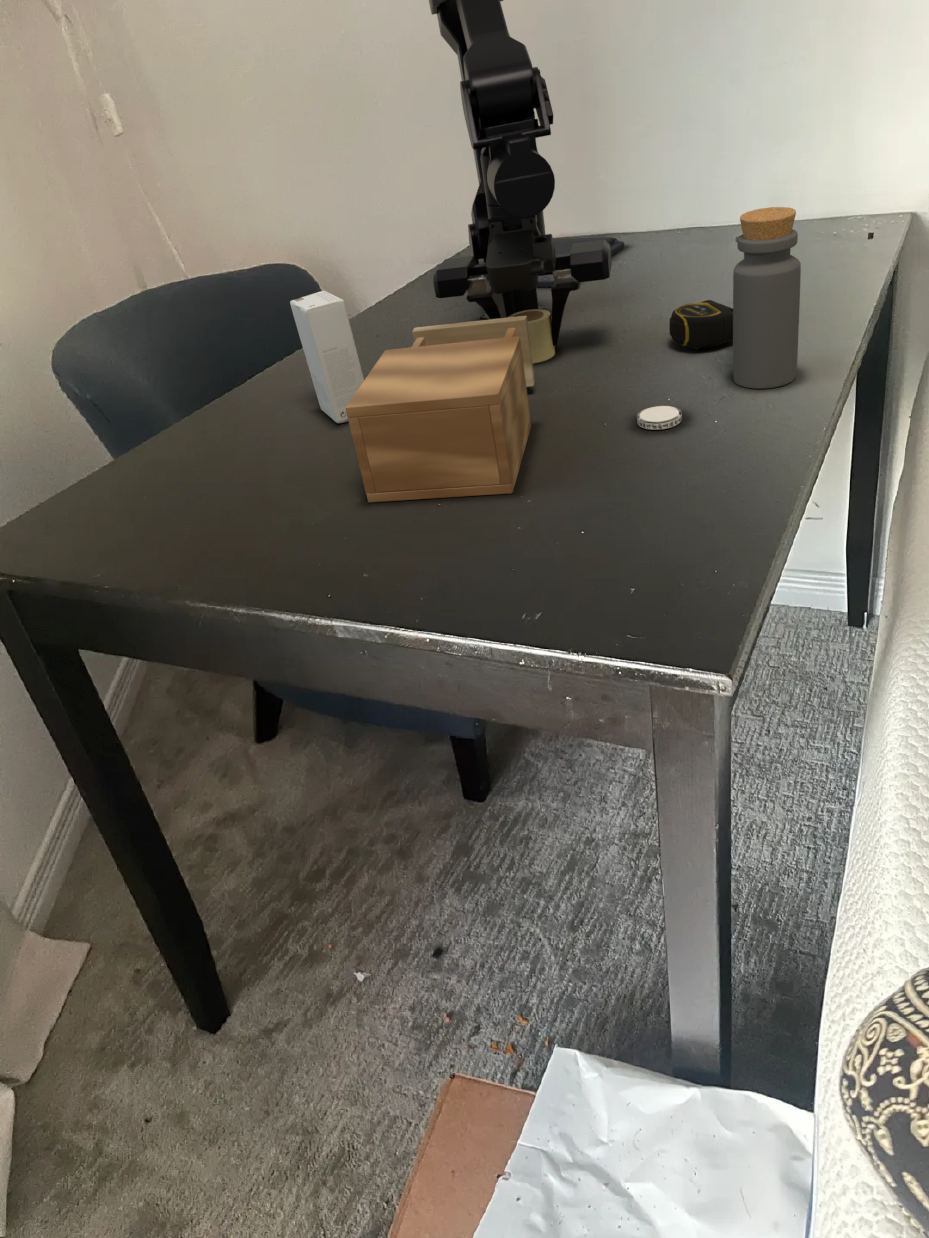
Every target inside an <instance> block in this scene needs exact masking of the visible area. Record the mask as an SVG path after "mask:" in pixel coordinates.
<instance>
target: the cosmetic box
mask: <svg viewBox="0 0 929 1238" xmlns="http://www.w3.org/2000/svg"><path fill="white" fill-rule="evenodd" d="M289 304H290V307H291V312H292V315H293V319H294V322H295V326H296V329H297V333H298V335H299V339H300V343H301V345H302V350H303V353H304V356H305V360H306V364H307V367H308V370H309V374H310V377H311V380H312V384H313V387H314V390H315V393H316V394H315V395H316V397H317V401H318V404H319V405H318V406H319V408H320V411H322V412H323V413H325V415H327V416H328V417H329V418H331V419H332V420H333V421H334V422H335V423H336V424H343V423H347V422H348V417H347V413H346V409H345V407H346V406H347V404H348V403H349V402H350V400H351V399H352V397H353V396H354V394H355V393H356V392H357V390H358V389H359V387H360V386H361V384H362V383H363V382H364V380H365V378H364V374H363V370H362V366H361V362H360V358H359V354H358V350H357V346H356V341H355V339H354V336H353V335H354V334H353V330H352V327H351V323H350V319H349V317H348V312H347V307H346V302H345V300H344V299H342V298H340V297H338V296H336V295H334V294H332V293H330V292H329V291H327V290H321V291H318V292H314V293H311V294H308V295H305V296H301V297H298V298H295V299H292V300H290V301H289ZM348 423H349V422H348Z"/></svg>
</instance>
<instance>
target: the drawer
mask: <svg viewBox="0 0 929 1238" xmlns="http://www.w3.org/2000/svg"><path fill="white" fill-rule="evenodd" d="M411 333H412V338H413V344H412V345H411V347H420V346H430V345H439V344H449V343H459V342H469V341H478V340H488V339H498V338H507V337H517V336H520V340H521V349H522V357H523V364H524V372H525V380H526V388H528V387H529V388H531V387H534V385H535V382H536V380H535V379H536V378H535V372H534V363H532V355H531V346H530V338H529V330H528V322H527V316H518V317H509V318H500V319H490V320H473V321H464V322H454V323H445V324H436V325H427V326H418V327H414V328H413V330H412V331H411Z"/></svg>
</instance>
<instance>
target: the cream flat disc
mask: <svg viewBox="0 0 929 1238" xmlns="http://www.w3.org/2000/svg"><path fill="white" fill-rule="evenodd" d="M682 415H683V413H682V410H681V409H680V408H678V407H676V406H671V405H655V406H651V407H647V408H644V409H642V410H640V411H639V412H638V413H637V414H636V423H637V426H639V427H640V428H643V429H644V430H652V431H653V430H655V431H656V430H657V431H658V430H666V429H671V428H674V427H675V426H677V425H679V424H680V423H681V422H682V420H683V416H682Z"/></svg>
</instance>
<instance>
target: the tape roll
mask: <svg viewBox="0 0 929 1238" xmlns="http://www.w3.org/2000/svg"><path fill="white" fill-rule="evenodd" d="M518 316H527V322H528V330H529V338H530V346H531V355H532V363H533V364H538V363H543V362H546V361H549V360H550V359H552V358H553V357H554V356H555V355H556V348H555V346H553V341H552V312H551V311H549V310H548V311H547V310H542V309H533V310H525V311H521V312H517V313H514V314H512V315H510V316H509V317H518ZM509 317H507V318H509Z"/></svg>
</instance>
